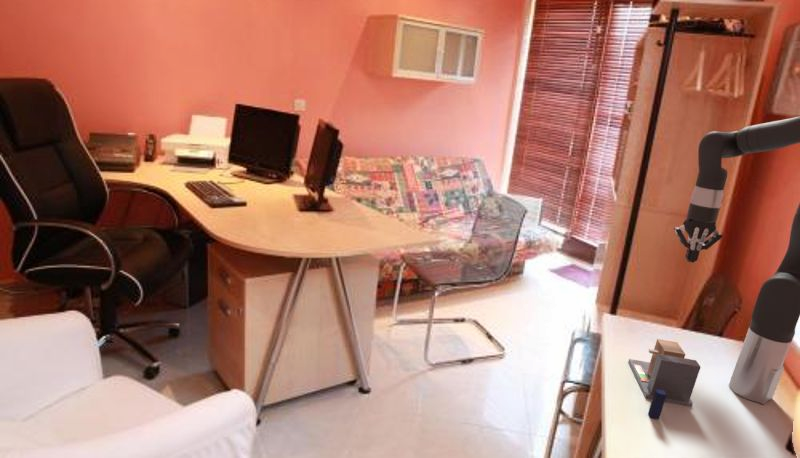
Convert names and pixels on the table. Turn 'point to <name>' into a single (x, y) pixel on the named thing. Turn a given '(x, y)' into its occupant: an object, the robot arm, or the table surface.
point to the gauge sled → (664, 352)
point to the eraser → (657, 404)
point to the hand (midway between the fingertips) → (690, 261)
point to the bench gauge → (667, 377)
